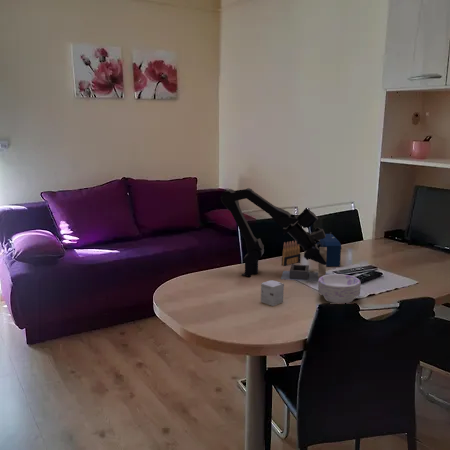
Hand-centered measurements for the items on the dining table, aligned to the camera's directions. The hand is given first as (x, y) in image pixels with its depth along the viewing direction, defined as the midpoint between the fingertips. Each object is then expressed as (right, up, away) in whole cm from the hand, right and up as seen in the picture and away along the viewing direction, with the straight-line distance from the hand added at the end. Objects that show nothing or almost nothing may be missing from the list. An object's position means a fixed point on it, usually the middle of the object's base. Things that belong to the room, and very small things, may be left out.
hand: (325, 262), depth 194 cm
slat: (-1, -6, +2) cm, 7 cm away
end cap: (-11, -6, +4) cm, 13 cm away
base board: (-6, -7, +3) cm, 10 cm away
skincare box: (-25, -13, -24) cm, 37 cm away
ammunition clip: (-11, -3, +22) cm, 25 cm away
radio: (+7, -2, +27) cm, 28 cm away
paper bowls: (0, -12, -21) cm, 25 cm away
